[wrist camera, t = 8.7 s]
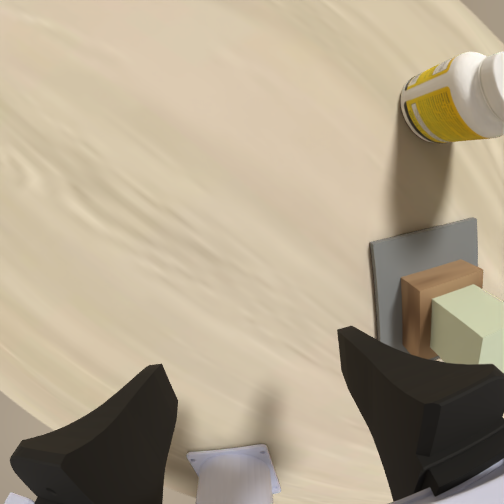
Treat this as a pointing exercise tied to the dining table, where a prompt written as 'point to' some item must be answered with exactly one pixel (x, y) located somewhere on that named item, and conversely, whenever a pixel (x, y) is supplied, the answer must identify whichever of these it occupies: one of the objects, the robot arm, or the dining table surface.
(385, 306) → the mat
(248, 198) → the dining table surface
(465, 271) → the walnut block
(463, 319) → the sage pillar
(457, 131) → the supplement bottle
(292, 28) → the dining table surface
